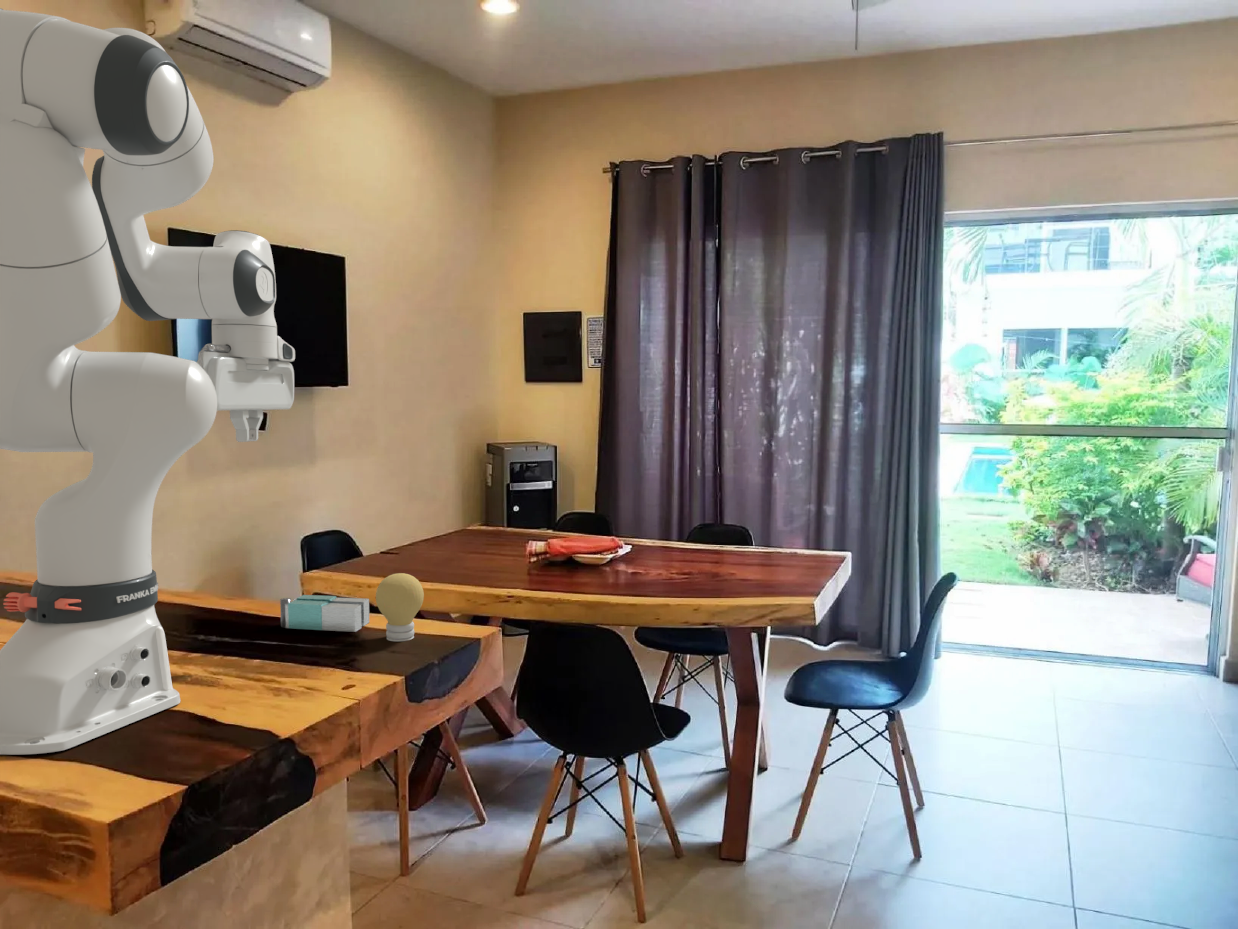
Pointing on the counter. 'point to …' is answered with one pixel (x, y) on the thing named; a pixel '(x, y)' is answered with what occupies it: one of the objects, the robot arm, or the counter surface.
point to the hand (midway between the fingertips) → (247, 441)
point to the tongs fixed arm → (320, 615)
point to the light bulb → (399, 604)
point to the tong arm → (333, 599)
